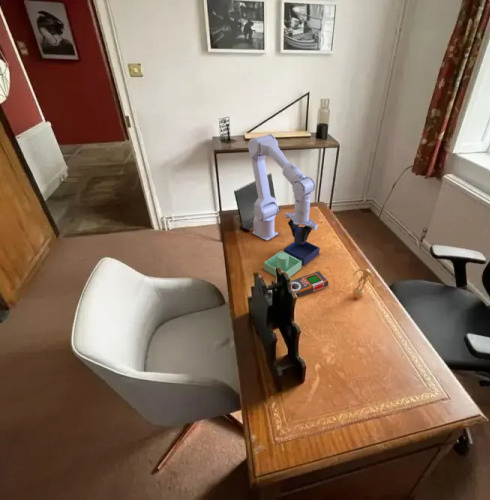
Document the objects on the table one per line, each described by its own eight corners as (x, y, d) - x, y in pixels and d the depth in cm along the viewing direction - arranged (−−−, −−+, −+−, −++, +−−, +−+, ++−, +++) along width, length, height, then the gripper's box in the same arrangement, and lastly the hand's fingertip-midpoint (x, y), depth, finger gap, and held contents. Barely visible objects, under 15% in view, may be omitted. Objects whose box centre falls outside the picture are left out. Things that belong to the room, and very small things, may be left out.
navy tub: (283, 255, 134) (284, 248, 132) (299, 244, 140) (299, 238, 138) (303, 266, 128) (304, 259, 126) (319, 254, 135) (319, 247, 133)
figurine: (344, 293, 116) (349, 268, 109) (353, 286, 119) (359, 261, 112) (364, 305, 111) (370, 280, 104) (373, 297, 115) (380, 272, 108)
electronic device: (285, 282, 116) (319, 269, 122) (285, 288, 118) (319, 275, 123) (293, 294, 112) (329, 280, 117) (293, 299, 113) (328, 286, 119)
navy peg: (291, 241, 129) (292, 229, 126) (298, 237, 132) (299, 225, 129) (300, 246, 127) (301, 233, 124) (306, 241, 130) (308, 229, 126)
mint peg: (274, 268, 126) (275, 256, 122) (282, 263, 129) (282, 251, 125) (283, 272, 124) (283, 260, 120) (290, 267, 126) (291, 255, 123)
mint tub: (263, 269, 126) (263, 262, 124) (281, 257, 133) (281, 250, 131) (284, 281, 120) (284, 274, 118) (301, 268, 127) (301, 261, 125)
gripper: (280, 206, 122) (279, 235, 130) (311, 219, 114) (308, 249, 123) (292, 200, 126) (290, 228, 134) (322, 212, 119) (318, 242, 127)
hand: (299, 238), depth 129 cm, fingers closed on navy peg, 4 cm apart
